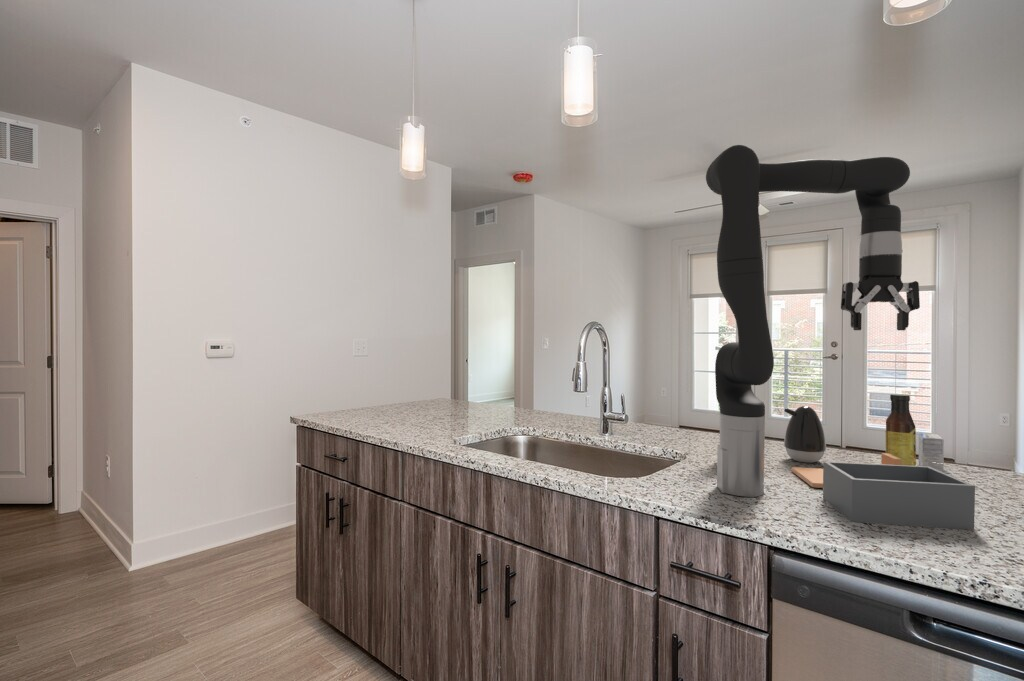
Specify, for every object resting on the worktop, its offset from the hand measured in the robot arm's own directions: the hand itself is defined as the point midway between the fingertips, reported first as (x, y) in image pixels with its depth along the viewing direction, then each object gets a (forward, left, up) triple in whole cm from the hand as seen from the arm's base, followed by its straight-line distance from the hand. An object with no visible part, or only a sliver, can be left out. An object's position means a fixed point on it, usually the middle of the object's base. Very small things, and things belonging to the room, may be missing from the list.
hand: (878, 330), depth 114 cm
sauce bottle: (+16, +24, -36) cm, 46 cm away
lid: (-1, +11, -36) cm, 38 cm away
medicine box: (+26, +30, -36) cm, 54 cm away
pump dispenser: (-4, +32, -36) cm, 49 cm away
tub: (-2, -11, -36) cm, 38 cm away
